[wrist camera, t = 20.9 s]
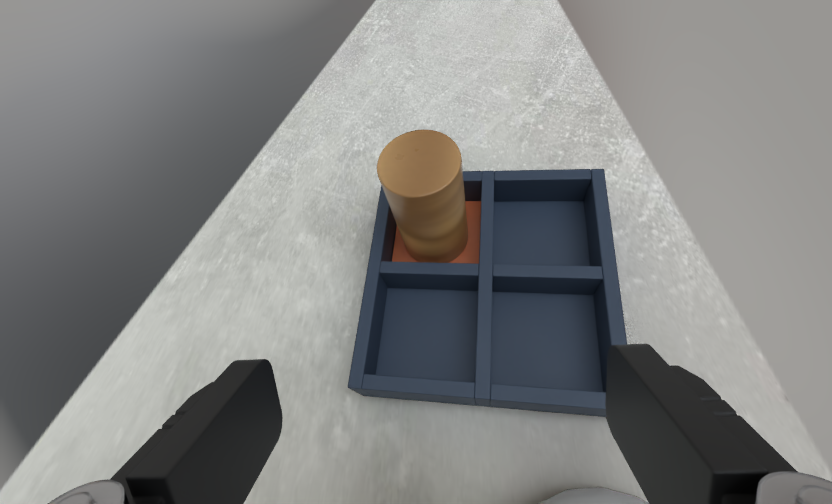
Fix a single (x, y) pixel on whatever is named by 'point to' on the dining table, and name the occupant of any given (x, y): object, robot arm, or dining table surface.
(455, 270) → the grid
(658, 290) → the dining table surface
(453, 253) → the wooden dowel cylinder
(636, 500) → the donut
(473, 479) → the dining table surface
